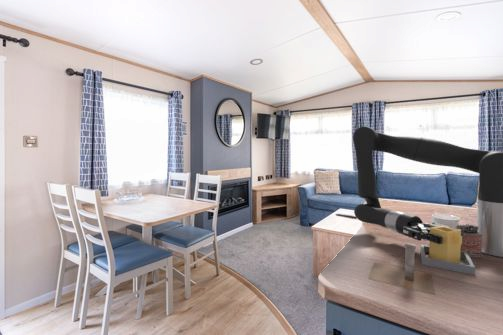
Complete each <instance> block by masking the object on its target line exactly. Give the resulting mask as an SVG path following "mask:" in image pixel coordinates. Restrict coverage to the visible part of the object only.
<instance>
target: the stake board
mask: <svg viewBox="0 0 503 335" xmlns="http://www.w3.org/2000/svg"><path fill="white" fill-rule="evenodd" d="M416 247H417V246H416V243H415V244H414V243H407V242H404V248H405V251H404V253H405V254H404V256H405V257H404V265H405V266H404V267H398V266H394V265H391V264H384V263H380V262H373V263H372V267H371V269H370V273H369V277H368V280H372V281H376V282H379V283H380V282H381V283H384V284H390V285H393V286H397V287H401V288H406V289H409V290H414V291H419V292H421V293H427V294H430V295H436V294H435V288H434V281H433V276H432V273H429V272H424V271H419V270H415V253H416Z"/></svg>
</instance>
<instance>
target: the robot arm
mask: <svg viewBox="0 0 503 335" xmlns="http://www.w3.org/2000/svg"><path fill="white" fill-rule="evenodd" d="M352 142H353V146H354V152H355V155H356V157H355V158H356V165H357V166H356V168H357V194H358V198H359V197H360V198H362V199H364V200H365V202H366V203H360V204H358V205H356V206H355V207H354V210H353V213H354V216H355V218H356V219H357V220H359V221H360V222H363V223H367V224H372V225H376V226H380V227H383V228H386V229H389V230H390V231H392V232H395V233H398V234H400V235H403V236H405V237H408V238H411V239H413V240H416V241H418V242H420V241H422V240H423V241H429V242H430V241H431V242H434V243H437V244H442V243H443V238H442V237H441V236H438V235H435V234H432V233H430V227H437V226H445V225H441V224H437V223H432V222H431V224H430V223H429V222H423V221H422V219H421V218H420V217H419V216H418V215H414V214H409V213H405V212H403V211H398V210H392V209H388V208H382V206H381V203H380V200H379V197H378V193H377V192H378V191H377V178H376V171H375V166H374V158H373V157H374V156H373V153H374V152H382V153H387V154H391V155H394V156H397V157H399V158H402V159H406V160H409V161H410V160H411V161H414V162H419V163H421V164H427V165H434V166H440V167H449V168H450V167H452V168H457V169H458V168H459V169H463V170H467V171H469V172H473V173H477V174H479V176H478V177H479V178H478V179H479V180H478V192H477V211H476V226H479V228H478V232H482V233H483V236H482V246H481V253H482V254H483V253H484V254H485V255H486V254H487V255H489V256H495V257H500V258H503V151H501V150H500V151H498V150H497V151H495V150H493V151H492V150H483V149H476V148H475V149H474V148H468V147H464V146H463V147H462V146H460V145H456V144H452V143H449V142H445V141H441V140H439V139H438V140H436V139H432V138H427V137H421V136H412V135H411V136H409V135H408V136H407V135H405V136H404V135H403V136H401V135H398V136H397V135H390V134H386V133H384V132H383V133H382V132H379V131H376V130H375V129H374V128H372V127H370V126H366V125H363V126H359V127H358V128H356V129H355V130H354V131H353V135H352ZM446 227H449V226H446ZM449 228H452V227H449ZM461 236H462V240H463V236H464V235H463V233H461Z"/></svg>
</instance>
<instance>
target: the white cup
mask: <svg viewBox="0 0 503 335" xmlns="http://www.w3.org/2000/svg"><path fill="white" fill-rule="evenodd" d="M460 220H461V218H460V217H459V216H455V215H452V214H445V213H444V214H443V213H434V214H432V215H431V224H432V223H437V224H441V225H445V226H449V227H452V228H453V229H456V230H460V229H457V225H460Z"/></svg>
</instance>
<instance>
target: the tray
mask: <svg viewBox="0 0 503 335" xmlns="http://www.w3.org/2000/svg"><path fill="white" fill-rule="evenodd" d="M429 247H430V245H426V244H420V247H419V248H420V258H421V265H422V266H428V267H432V268H438V269H442V270H449V271H453V272H459V273H464V274H468V275H474V276H476V275H475V274H476V266H475V264H474V263H473V262H474V261H473V260H472V259H471V257H469V255H468V254H467V252H465V251H460V263H454V262H448V261H443V260H437V259H431V258H429V257H426V253H427V254H429Z"/></svg>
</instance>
